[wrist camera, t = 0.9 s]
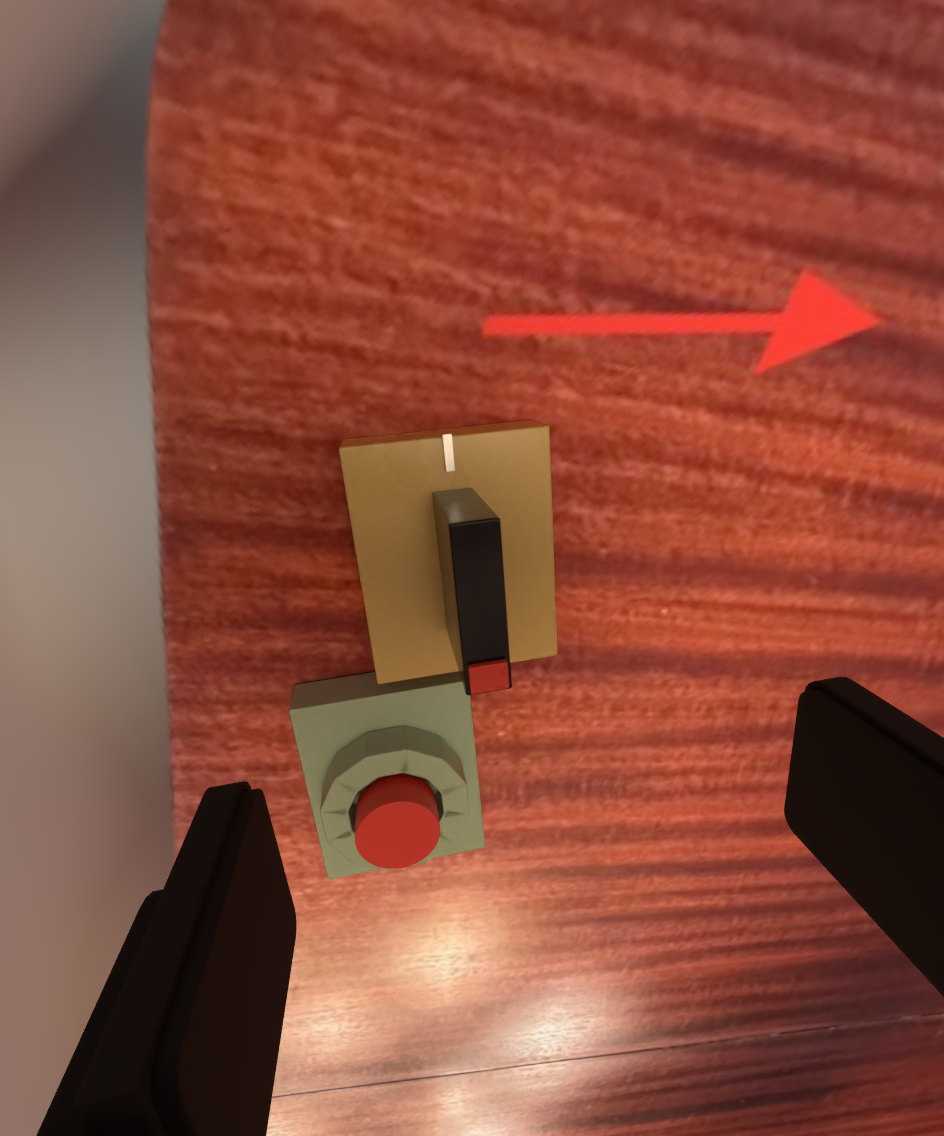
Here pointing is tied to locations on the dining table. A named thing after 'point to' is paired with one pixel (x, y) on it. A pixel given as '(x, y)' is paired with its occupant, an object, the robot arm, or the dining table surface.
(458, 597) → the block
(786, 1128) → the dining table surface
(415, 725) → the button block
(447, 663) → the plate
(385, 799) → the release button
